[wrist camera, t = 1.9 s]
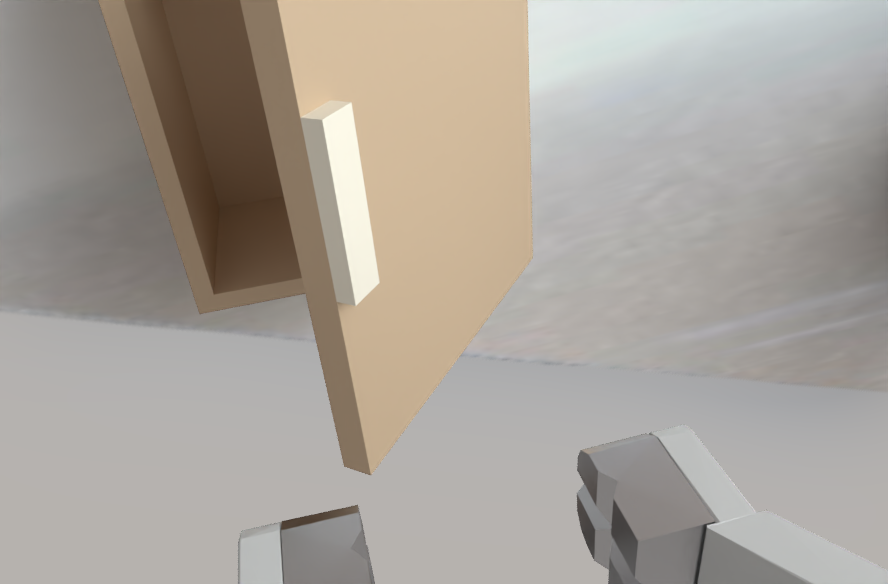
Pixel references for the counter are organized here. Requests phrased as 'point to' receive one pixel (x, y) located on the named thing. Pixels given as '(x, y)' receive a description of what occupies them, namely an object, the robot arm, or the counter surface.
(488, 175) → the lid
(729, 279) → the counter surface
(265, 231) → the tan box
